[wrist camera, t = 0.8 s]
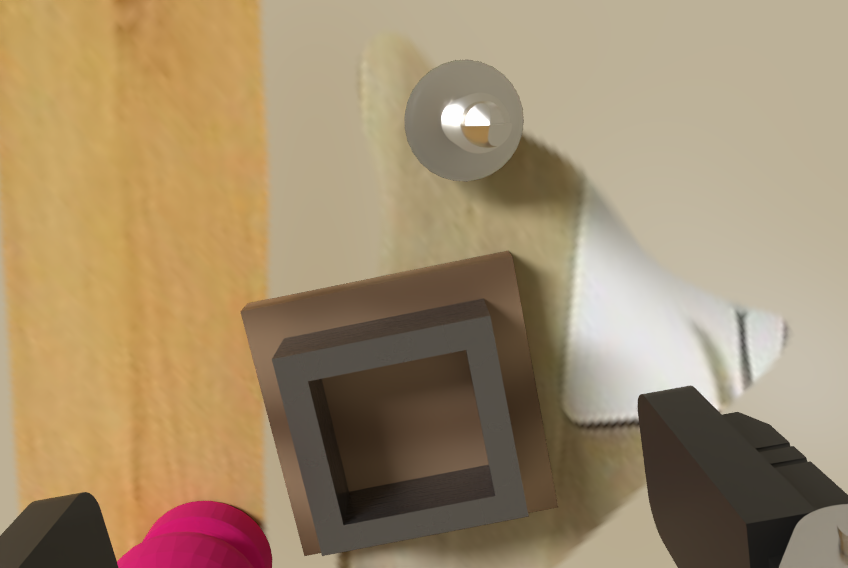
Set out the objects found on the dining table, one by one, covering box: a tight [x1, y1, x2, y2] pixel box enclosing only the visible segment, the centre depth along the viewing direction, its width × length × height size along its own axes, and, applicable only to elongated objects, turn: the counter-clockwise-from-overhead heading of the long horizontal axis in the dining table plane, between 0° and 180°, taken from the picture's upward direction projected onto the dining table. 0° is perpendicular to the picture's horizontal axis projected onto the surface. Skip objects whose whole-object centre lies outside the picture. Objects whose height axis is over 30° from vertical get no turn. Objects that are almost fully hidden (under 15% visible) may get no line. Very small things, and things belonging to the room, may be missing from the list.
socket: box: [272, 298, 528, 556], centre depth 33 cm, size 9×9×3 cm
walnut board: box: [241, 251, 558, 556], centre depth 36 cm, size 12×12×2 cm
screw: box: [405, 60, 524, 181], centre depth 27 cm, size 13×5×5 cm
